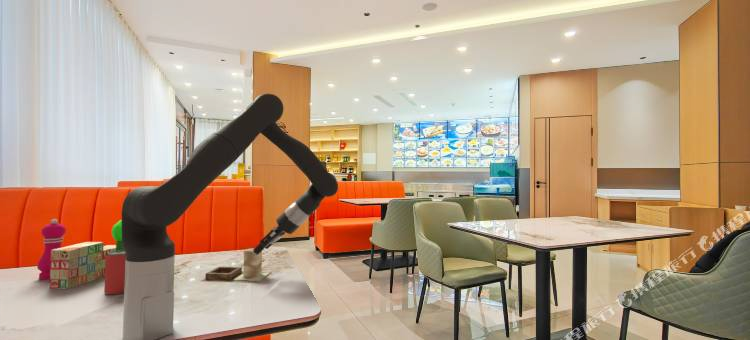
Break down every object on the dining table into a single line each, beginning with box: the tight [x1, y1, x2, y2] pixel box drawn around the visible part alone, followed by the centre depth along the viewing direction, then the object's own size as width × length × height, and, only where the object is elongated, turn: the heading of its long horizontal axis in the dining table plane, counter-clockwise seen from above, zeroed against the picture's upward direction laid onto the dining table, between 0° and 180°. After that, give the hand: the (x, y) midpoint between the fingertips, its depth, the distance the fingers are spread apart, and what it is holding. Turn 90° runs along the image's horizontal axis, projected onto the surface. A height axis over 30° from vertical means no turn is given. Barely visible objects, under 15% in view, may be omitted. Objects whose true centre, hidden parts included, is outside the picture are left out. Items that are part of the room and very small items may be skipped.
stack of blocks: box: [49, 241, 116, 290], centre depth 111 cm, size 21×6×12 cm, turn 178°
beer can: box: [103, 250, 126, 296], centre depth 99 cm, size 7×7×12 cm
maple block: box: [243, 247, 263, 278], centre depth 112 cm, size 4×4×9 cm
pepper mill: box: [37, 218, 67, 281], centre depth 112 cm, size 7×7×20 cm
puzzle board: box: [200, 266, 273, 284], centre depth 112 cm, size 20×12×3 cm, turn 88°
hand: (260, 249), depth 112 cm, fingers open, 8 cm apart
